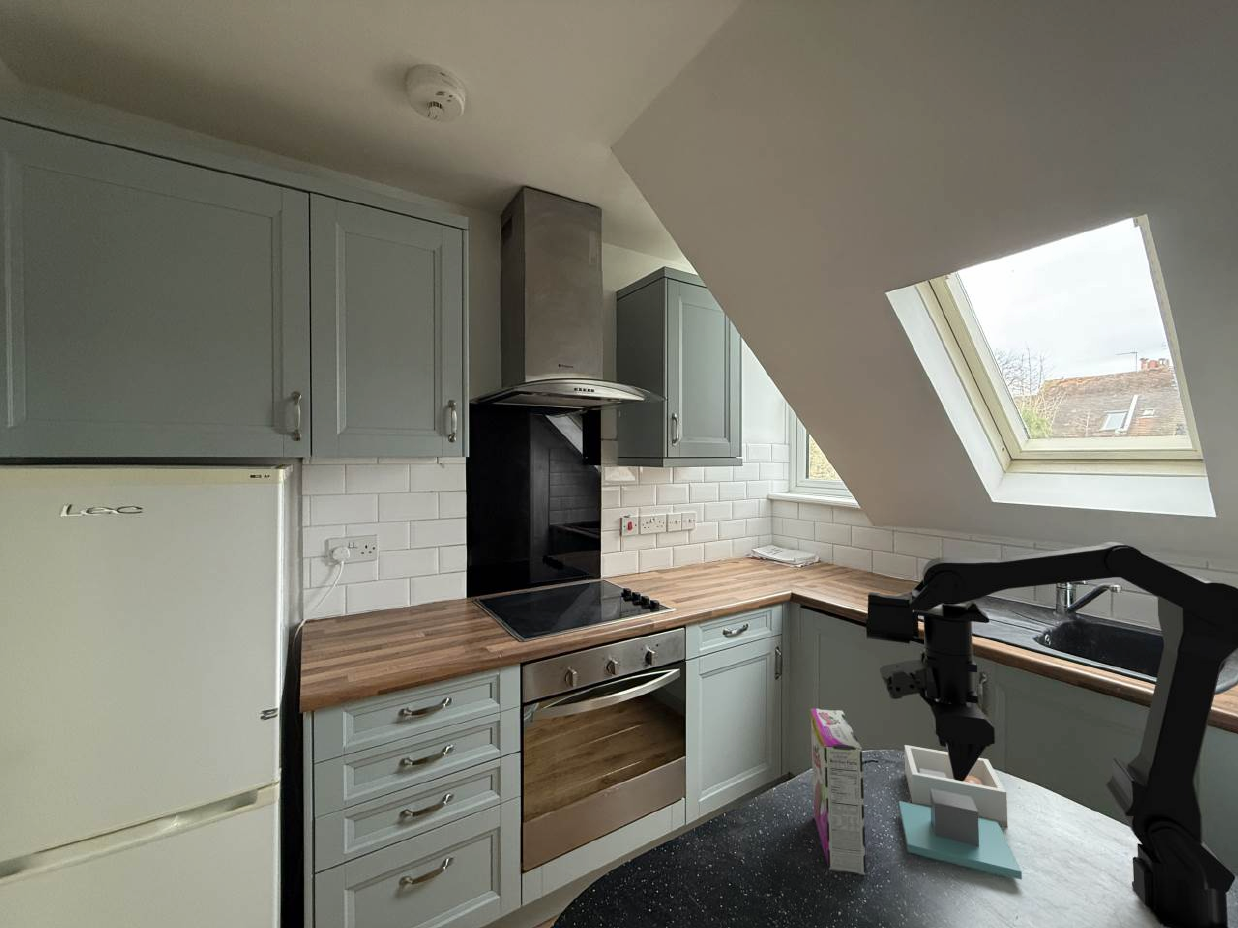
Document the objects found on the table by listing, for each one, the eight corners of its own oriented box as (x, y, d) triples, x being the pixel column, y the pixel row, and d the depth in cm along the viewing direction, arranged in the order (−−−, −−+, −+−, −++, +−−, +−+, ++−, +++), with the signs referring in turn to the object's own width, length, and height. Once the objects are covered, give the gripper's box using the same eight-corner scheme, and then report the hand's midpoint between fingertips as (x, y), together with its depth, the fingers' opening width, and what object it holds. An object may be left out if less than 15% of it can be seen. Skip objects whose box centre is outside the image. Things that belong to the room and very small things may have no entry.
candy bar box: (811, 815, 76) (809, 706, 77) (846, 820, 75) (843, 709, 76) (826, 872, 65) (823, 743, 66) (867, 877, 64) (864, 747, 65)
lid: (998, 836, 72) (996, 789, 72) (1022, 887, 63) (1020, 834, 63) (899, 814, 76) (898, 770, 77) (908, 859, 67) (906, 809, 68)
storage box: (988, 790, 82) (987, 759, 82) (1007, 827, 73) (1006, 792, 74) (905, 774, 87) (904, 744, 87) (913, 806, 78) (912, 774, 78)
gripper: (878, 625, 82) (880, 721, 82) (890, 663, 65) (893, 786, 65) (958, 633, 78) (961, 735, 77) (994, 676, 61) (998, 807, 60)
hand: (951, 762), depth 70 cm, fingers open, 9 cm apart
